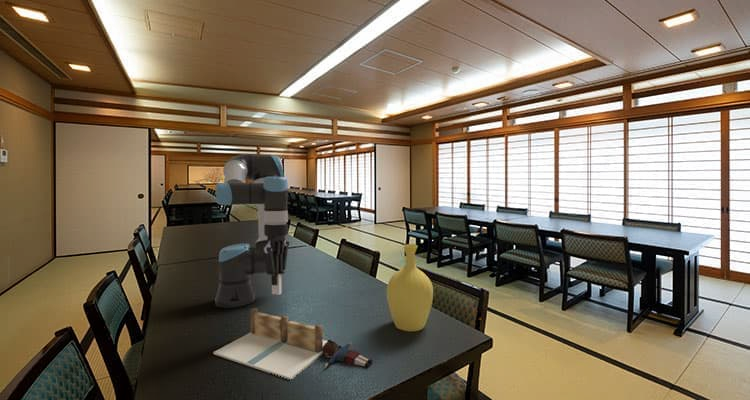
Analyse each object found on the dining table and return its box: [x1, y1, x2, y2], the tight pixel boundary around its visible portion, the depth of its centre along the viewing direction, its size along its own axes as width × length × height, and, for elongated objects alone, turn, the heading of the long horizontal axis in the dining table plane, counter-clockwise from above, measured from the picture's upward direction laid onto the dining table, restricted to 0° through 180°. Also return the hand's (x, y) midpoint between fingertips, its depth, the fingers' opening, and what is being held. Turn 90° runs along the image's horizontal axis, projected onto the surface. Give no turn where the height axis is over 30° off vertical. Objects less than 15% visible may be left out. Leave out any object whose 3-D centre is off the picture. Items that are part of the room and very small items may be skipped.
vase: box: [386, 243, 434, 332], centre depth 113 cm, size 16×16×28 cm
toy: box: [322, 339, 373, 369], centre depth 91 cm, size 14×5×15 cm
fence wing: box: [250, 308, 289, 342], centre depth 103 cm, size 15×2×7 cm, turn 65°
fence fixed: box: [288, 320, 324, 352], centre depth 97 cm, size 12×2×7 cm, turn 65°
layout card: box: [212, 331, 328, 381], centre depth 97 cm, size 28×20×1 cm
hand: (276, 293), depth 109 cm, fingers closed
